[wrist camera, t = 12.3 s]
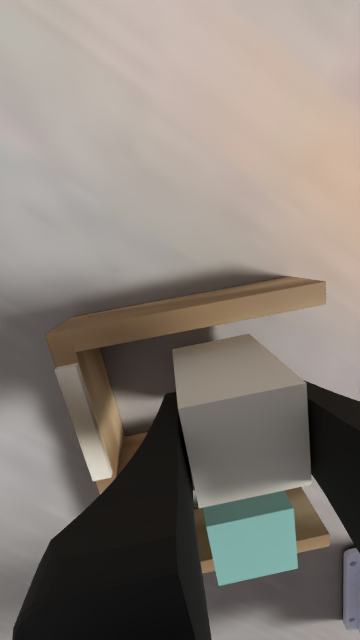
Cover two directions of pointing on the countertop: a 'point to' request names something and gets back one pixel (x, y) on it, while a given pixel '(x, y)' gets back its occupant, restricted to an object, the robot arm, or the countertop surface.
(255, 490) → the white rectangular block
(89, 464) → the rack
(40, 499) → the countertop surface
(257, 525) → the teal plug block
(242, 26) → the countertop surface
